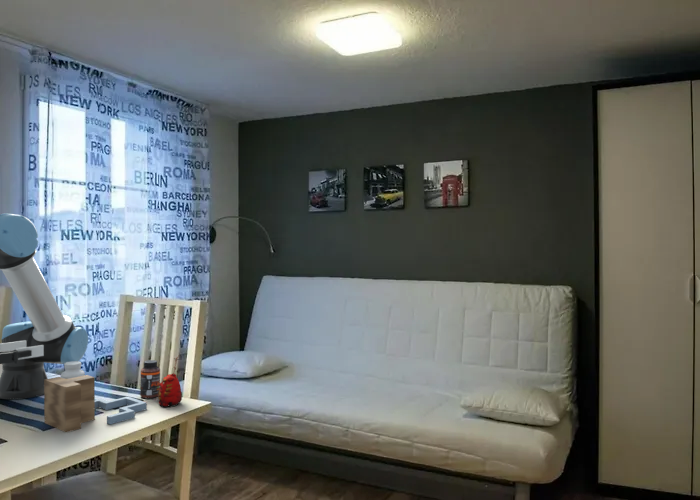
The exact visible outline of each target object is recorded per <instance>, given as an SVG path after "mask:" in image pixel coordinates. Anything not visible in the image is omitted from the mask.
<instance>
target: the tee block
mask: <svg viewBox="0 0 700 500" xmlns="http://www.w3.org/2000/svg"><path fill="white" fill-rule="evenodd" d="M95 379H96V378H95V376H91V375H89V374H86V375H85V376H80V377H75V378H70V379H64V378H61V376H57V377H51V378H48V379H45V380H44V394H43V396H44V397H43V398H44V406H43V407H44V409H43V410H44V414H43V415H44V417H43V418H44V424H46V425H48V426H51V427H53V428H55V429H58V430H60V431H61V432H64V433H70V432H73V431H77V430H80V429H82V424H83V423H87V422H91V421H94V420H95V415H96V414H95V412H96V411H95V409H96V408H95V400H96V397H95V393H96V392H95V384H96V383H95Z"/></svg>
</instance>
